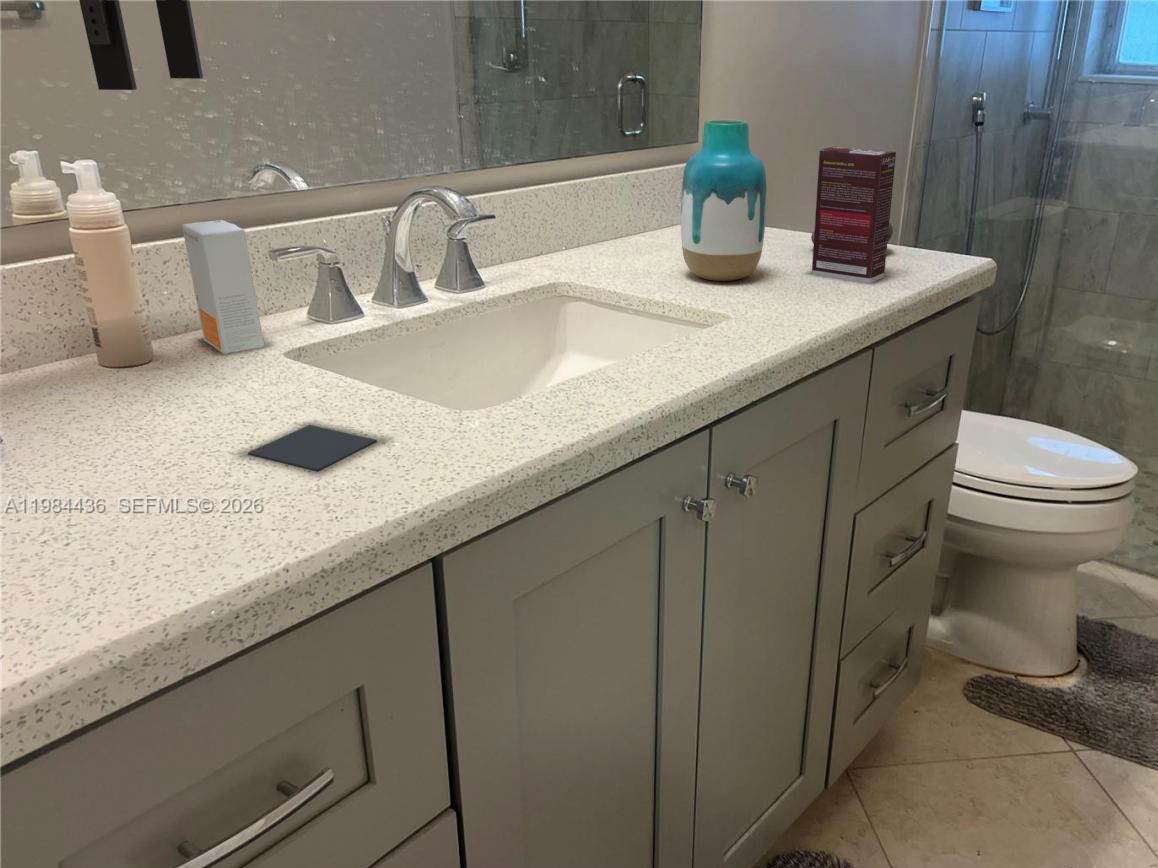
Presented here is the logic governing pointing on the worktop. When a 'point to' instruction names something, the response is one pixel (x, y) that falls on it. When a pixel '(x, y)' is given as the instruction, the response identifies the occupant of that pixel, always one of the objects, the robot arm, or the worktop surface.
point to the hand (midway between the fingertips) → (154, 84)
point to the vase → (723, 204)
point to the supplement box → (852, 213)
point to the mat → (312, 448)
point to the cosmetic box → (223, 285)
